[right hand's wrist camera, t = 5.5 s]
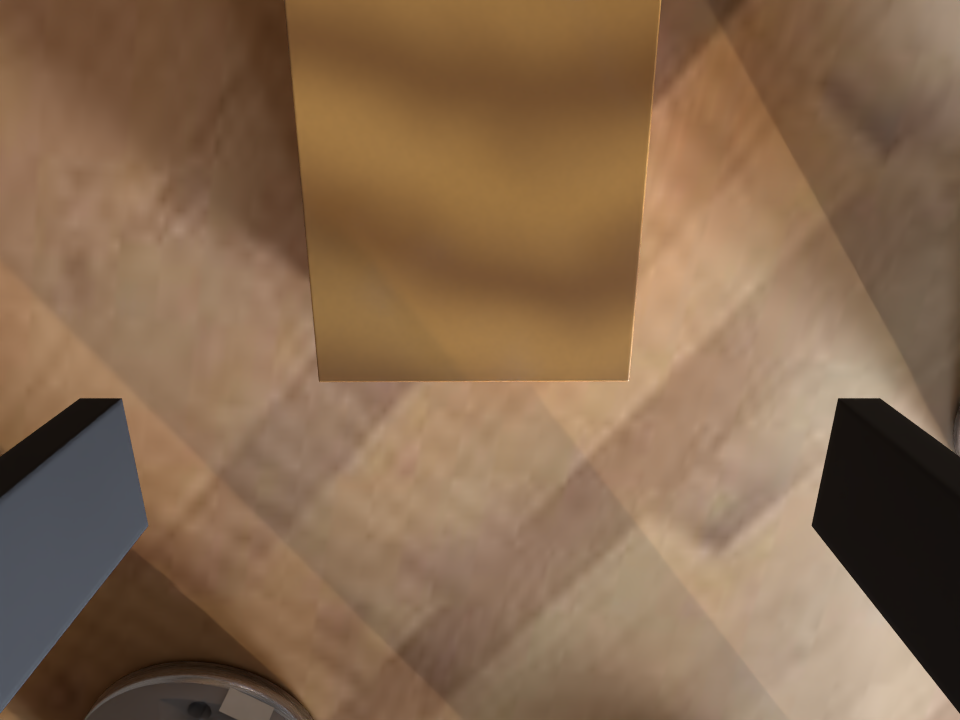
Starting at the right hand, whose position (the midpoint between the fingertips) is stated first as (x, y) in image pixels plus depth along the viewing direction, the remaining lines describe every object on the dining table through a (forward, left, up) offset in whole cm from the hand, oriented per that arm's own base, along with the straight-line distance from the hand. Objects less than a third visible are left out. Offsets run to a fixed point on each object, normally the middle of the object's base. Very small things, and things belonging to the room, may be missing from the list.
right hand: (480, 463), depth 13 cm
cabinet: (+6, -4, -20) cm, 22 cm away
